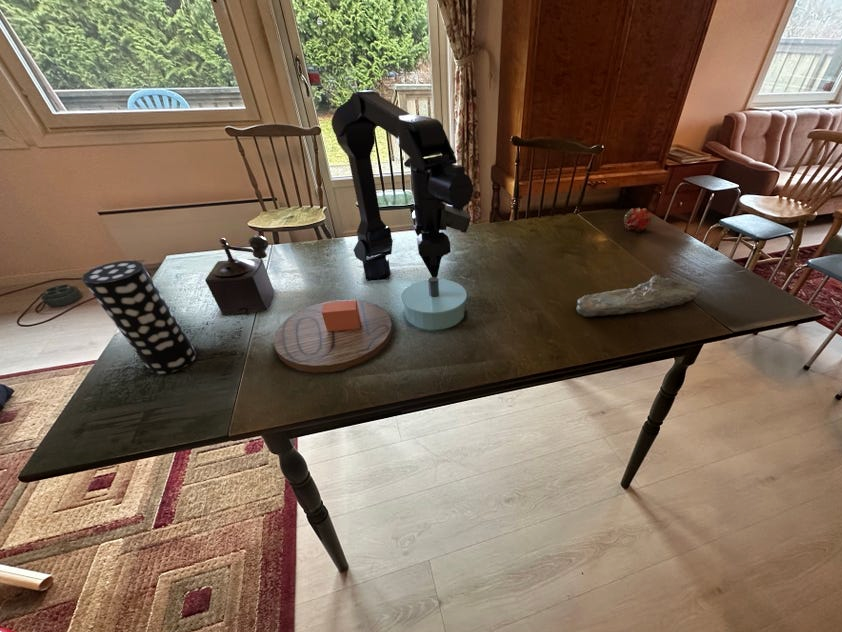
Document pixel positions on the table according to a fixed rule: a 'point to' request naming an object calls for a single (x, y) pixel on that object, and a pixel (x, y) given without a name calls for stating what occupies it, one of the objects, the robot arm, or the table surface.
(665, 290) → the long grey stone
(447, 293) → the lid
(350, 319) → the orange rectangular block
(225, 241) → the manual coffee grinder
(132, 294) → the spotted tube
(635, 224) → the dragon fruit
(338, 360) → the trivet
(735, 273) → the table surface
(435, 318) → the pot
